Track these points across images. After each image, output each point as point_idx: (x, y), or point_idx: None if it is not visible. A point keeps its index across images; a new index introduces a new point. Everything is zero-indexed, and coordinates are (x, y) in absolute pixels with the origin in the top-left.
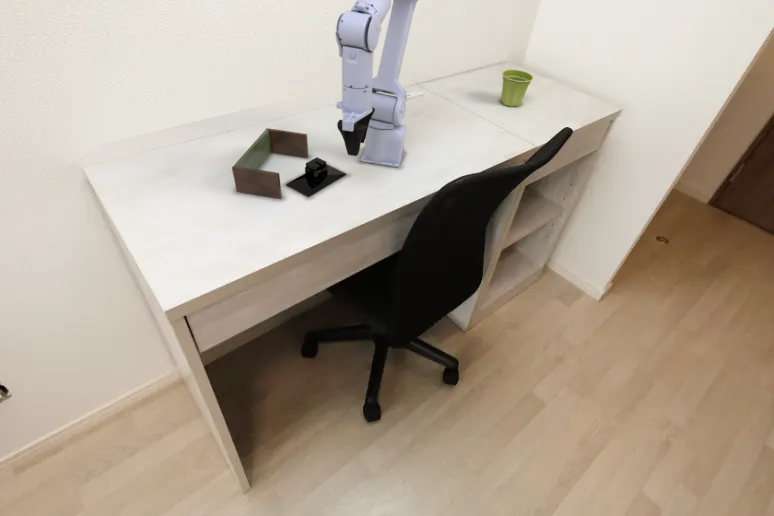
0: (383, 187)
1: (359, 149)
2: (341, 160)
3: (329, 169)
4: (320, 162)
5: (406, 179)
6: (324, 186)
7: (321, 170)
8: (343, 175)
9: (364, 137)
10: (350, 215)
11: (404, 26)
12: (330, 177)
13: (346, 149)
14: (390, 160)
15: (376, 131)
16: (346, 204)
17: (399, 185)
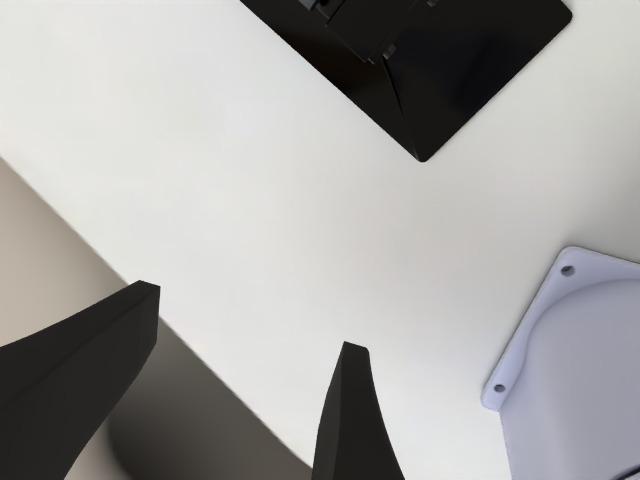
0: (311, 317)
1: (127, 381)
2: (608, 134)
3: (471, 59)
4: (347, 14)
5: None
6: (281, 33)
7: (329, 18)
8: (403, 146)
9: (318, 437)
10: (81, 168)
11: None
12: (365, 70)
13: (109, 296)
14: (518, 388)
15: (592, 473)
16: (155, 153)
17: (330, 375)
